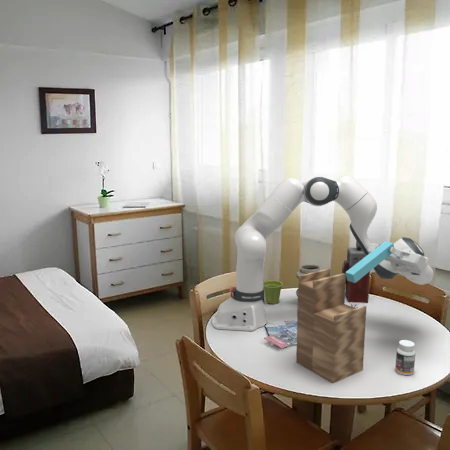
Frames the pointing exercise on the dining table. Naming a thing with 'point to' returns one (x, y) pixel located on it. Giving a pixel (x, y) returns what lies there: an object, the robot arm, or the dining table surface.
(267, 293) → the plant pot
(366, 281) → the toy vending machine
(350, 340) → the stepped wooden block
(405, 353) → the pill bottle
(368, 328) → the dining table surface
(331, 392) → the dining table surface
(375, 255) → the bar
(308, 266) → the apothecary jar
